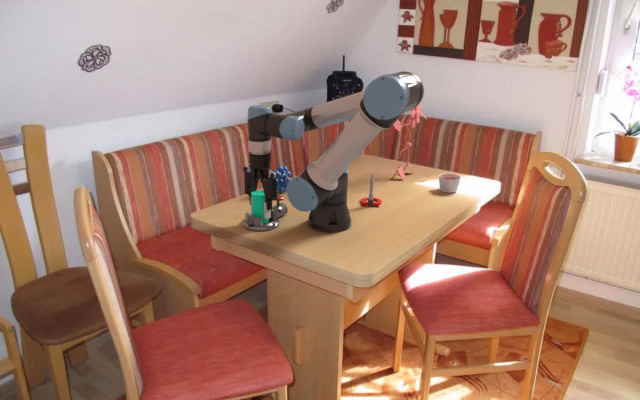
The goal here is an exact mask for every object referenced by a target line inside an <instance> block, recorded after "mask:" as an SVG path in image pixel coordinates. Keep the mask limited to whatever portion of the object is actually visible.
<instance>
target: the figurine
mask: <svg viewBox="0 0 640 400" xmlns="http://www.w3.org/2000/svg"><path fill="white" fill-rule="evenodd" d="M422 108H423V105H420V104H419V105H418V106H417V107H416V108H414V109H413V110H410V111H411V113H410V115H409V117H408V119H407V120H406V121H405V122H404V124H403V125H402V123H401V121H400V120H399V119H398V120H397V121H396V122H395V123H394V124H393V126H392V127H394V129H395V130H396V131H397V132H398V133H401V130H402V128H404V127H405V128H406V129H407V131H408V133H409V137H408V141H407V142H406V143H405V147H404V148H403V149H402V150H401V151H399V157H401V155H402V154H401V153H402V152H404V151H405V150H407V151H408V152H407V153H408V154H407V156H408V157H407V158H408V159H407V161H406V165H405V166H404V168H403V167H402V166H401V164H398V165H397V167H396V169H397V170H396V171H395V173H394V174H393V176H392V178H395V176H396V174H397V173H398V175H399V177H400V178H401V179H402V180H403V181H404V179H405V172H404V171H405V170H406V168H408V167H407V166H409V169H410V170H411V172H412V173H413V174H414V171H413V168H412V167H411V164H410V149H411V147H412V146H413V145H412V143H411V136H412V135H411V134H412V133H411V130H410V129H409V127H408V126H410V125H411V127H410V128H411V129H412V130H413V129H414V128H416V125H417V124H419V123H420V122H421V120H420V116H421V115H422V117H423V118H424V119H425V120H428V118H427V116H426V115H425V114H424V113H423V111H422ZM425 175H426V176H427V177H429V176H428V174H427V173H425ZM386 180H388V181H389V179H387V178H386ZM422 182H424V180H422V181H420V183H422Z"/></svg>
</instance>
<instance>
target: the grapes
mask: <svg viewBox="0 0 640 400" xmlns="http://www.w3.org/2000/svg"><path fill="white" fill-rule="evenodd" d="M273 172H277V173H278V175H277V178H276V182H277V192H278V193H280V194H283V193H284V192H285V191H286V189H287V185H288V183H289V181H290V180H292V178H291V176H292V172H291V171H290V170H289V168H288V167H287V166H286V165H283V166H282V165H277V167H276V169H275V170H273Z"/></svg>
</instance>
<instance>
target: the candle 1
mask: <svg viewBox="0 0 640 400" xmlns="http://www.w3.org/2000/svg"><path fill="white" fill-rule="evenodd" d="M265 200H266V199H265V195H264V190H263V189H258V190H257V191H255V192H251V202H252V216H257V217H262V224H264V223H267V222H269V218H268V219H266V220H265V219H264V201H265Z"/></svg>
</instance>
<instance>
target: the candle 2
mask: <svg viewBox="0 0 640 400" xmlns="http://www.w3.org/2000/svg"><path fill="white" fill-rule="evenodd" d="M438 181H439V190H440V191H441V192H443V193H448V194H454V193H456V192H457V191H458V187H459V185H460V181H461V176H460V175H459V174H456V173H455V174H454V173H448V172H446V173H441V174H438Z"/></svg>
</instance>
